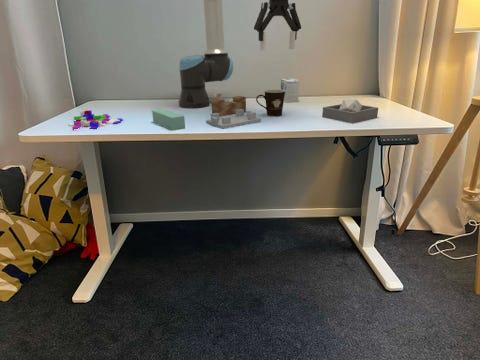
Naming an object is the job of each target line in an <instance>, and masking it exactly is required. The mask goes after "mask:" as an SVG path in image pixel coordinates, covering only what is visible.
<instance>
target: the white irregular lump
mask: <svg viewBox="0 0 480 360" xmlns="http://www.w3.org/2000/svg"><path fill="white" fill-rule="evenodd" d="M340 104H341V106H340V108H339V110H343V111H348V112H356V111H360V109H361V107H362V105H363V104H362V103H361V102H360V101H359V100H358V99H357V98H355V97H346V98H343V100H342V102H341V103H340Z"/></svg>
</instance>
